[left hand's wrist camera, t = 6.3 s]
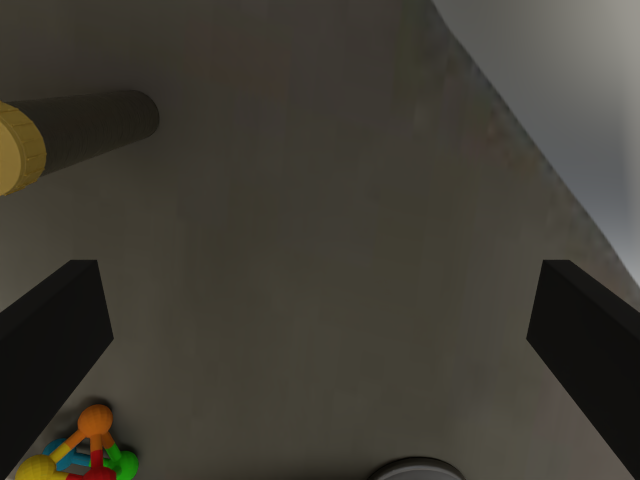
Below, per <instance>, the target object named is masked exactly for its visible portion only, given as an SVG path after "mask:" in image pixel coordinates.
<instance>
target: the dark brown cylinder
mask: <svg viewBox="0 0 640 480" xmlns="http://www.w3.org/2000/svg"><path fill="white" fill-rule="evenodd" d="M4 103H6V104H8V105H11V106H13V107H14V108H18V109H19V111H21V112H22V113H24V114H25V115H26V116H27V117H28V118H29V119H30V120H31V121H33V123H34V125H35V126H36V127H37V129H38V130H39V132H40V134H41V136H42V137H43V141H44V144H45V148H46V153H47V155H46V163H45V167H44V168H45V170H43V171H42V173H41V175H40V176H39V177H42V176H44V175H47V174H50V173H52V172H55V171H58V170H60V169H63V168H66V167H68V166H71V165H74V164H76V163H79V162H82V161H84V160H87V159H90V158H92V157H95V156H98V155H101V154H103V153H106V152H109V151H111V150H114V149H117V148H119V147H122V146H125V145H127V144H130V143H133V142H135V141H138V140H141V139H143V138H146V137H149V136H150V135H152V134H153V133H154V132H155V130H156V129H157V127H158V124H159V113H158V110H157V107H156V105H155V104H154V102H153V101H152V100H151V99H150V98H149V97H148V96H147V95H145V94H144V93H141V92H138V91H121V92H110V93H99V94H89V95H78V96H68V97H57V98H47V99H36V100H25V101H15V102H4ZM39 177H38V178H39Z"/></svg>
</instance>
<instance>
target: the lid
mask: <svg viewBox="0 0 640 480" xmlns="http://www.w3.org/2000/svg"><path fill="white" fill-rule="evenodd" d="M46 155H47V153H46V148H45V144H44V141H43V137H42V136H41V134H40V132H39V130H38V129H37V127H36V126H35V125H34V123H33V121H31V120H30V119H29V118H28V117H27V116H26V115H25V114H24V113H22V112H21V111H19V109H18V108H14V107H13V106H11V105H8V104H6V103H3V102H2V101H0V196H1V195H4V196H6V195H8V194H11V193H13V192H16V191H19V190H21V189H24V188H25V186H27V185H30V184H31V183H34V182H36V181H37V179H38V177H39V176H40V175H41V173H42V171H43V170H45V168H44V167H45V163H46Z"/></svg>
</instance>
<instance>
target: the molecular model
mask: <svg viewBox="0 0 640 480" xmlns="http://www.w3.org/2000/svg"><path fill="white" fill-rule="evenodd" d="M112 421H113V415H112V412H111V411H110V409H109V408H108V407H107V406H104V405H101V404H96V405H92V406H90V407H88V408H86V409H85V410H84V411H83V412H82V413H81V415H80V417H79V419H78V430H77V431H76V432H75V433H74V434H72V435H71V436H70V437H69V438H68V439H65V438H60V439H56V440H54V441H52V442H51V443H49V444H48V445H47V446H46V447H45V449H44V451H43V453H42V454H40V455H35V456H32V457H30V458H28V459H27V460H25V461H24V462H23V463H22V464H21V465H20V467H19V469H18V471H17V473H16V476H15V480H131V479H132V478H133V477H134V476H135V475H136V473H137V470H138V466H139V462H138V459H137V457H136V455H135V454H134V453H132V452H129V451H121V452H120V450H119V449H118V447H117V445H116V443H115V442H114V440H113V438H112V436H111V435H110V433H109V431H108V430H109V429H110V427H111V425H112ZM85 437H87V438H90V452H91V455H87V454H82V453H77V452H76V446H77V445H78V444H79V443H80V442H81V441H82V440H83V439H84V438H85ZM102 445H103V447H104V448H105V450H106V452H107V453H108V455H109V457H110V459H107V458H103V447H102ZM71 463H73V464H78V465H84V466H89V467H91V470H89V471H88V472H87V473H86V474H85V475H84V476H82V475H76V474H71V473H66V472H61V471H62V470H64V469H66V468H67V467H69V466H70V465H71Z"/></svg>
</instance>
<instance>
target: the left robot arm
mask: <svg viewBox="0 0 640 480" xmlns="http://www.w3.org/2000/svg"><path fill="white" fill-rule="evenodd" d="M113 339H114V337H113V333H112V328H111V323H110V319H109V314H108V309H107V305H106V300H105V295H104V291H103V286H102V281H101V277H100V272H99V268H98V263H97V260H70V261H69V262H67V263H66V264H65V265H63V266H62V267H61V268H59V269H58V270H57V271H55V272H54V273H53V274H51V275H50V276H49V277H47V278H46V279H45V280H43V281H42V282H41V283H39V284H38V285H37V286H35V287H34V288H33V289H31V290H30V291H29V292H27V293H26V294H25V295H23V296H22V297H21V298H19V299H18V300H17V301H15V302H14V303H13V304H11V305H10V306H9V307H7V308H6V309H5V310H3V311H2V312H1V313H0V480H5V479H6V477H7V476H8V475H9V474H10V472H11V471H12V470H13V468H14V467H15V466H16V465H17V463H18V462H19V461H20V459H21V458H22V457H23V455H24V454H25V453H26V452H27V450H28V449H29V448H30V446H31V445H32V444H33V443H34V441H35V440H36V439H37V437H38V436H39V435H40V434H41V432H42V431H43V430H44V428H45V427H46V426H47V425H48V423H49V422H50V421H51V419H52V418H53V417H54V415H55V414H56V413H57V412H58V410H59V409H60V408H61V406H62V405H63V404H64V403H65V401H66V400H67V399H68V397H69V396H70V395H71V394H72V392H73V391H74V390H75V388H76V387H77V386H78V384H79V383H80V382H81V381H82V379H83V378H84V377H85V375H86V374H87V373H88V372H89V370H90V369H91V368H92V366H93V365H94V364H95V363H96V361H97V360H98V359H99V357H100V356H101V355H102V353H103V352H104V351H105V350H106V348H107V347H108V346H109V344H110V343H111V342H112V341H113ZM526 339H527V341H528V342H529V343H530V344H531V346H532V347H533V348H534V350H535V351H536V352H537V353H538V355H539V356H540V357H541V359H542V360H543V361H544V363H545V364H546V365H547V366H548V368H549V369H550V370H551V372H552V373H553V374H554V375H555V377H556V378H557V379H558V381H559V382H560V383H561V384H562V386H563V387H564V388H565V390H566V391H567V392H568V394H569V395H570V396H571V397H572V399H573V400H574V401H575V403H576V404H577V405H578V406H579V408H580V409H581V410H582V412H583V413H584V414H585V415H586V417H587V418H588V419H589V421H590V422H591V423H592V425H593V426H594V427H595V428H596V430H597V431H598V432H599V434H600V435H601V436H602V437H603V439H604V440H605V441H606V443H607V444H608V445H609V446H610V448H611V449H612V450H613V452H614V453H615V454H616V455H617V457H618V458H619V459H620V461H621V462H622V463H623V465H624V466H625V467H626V468H627V470H628V471H629V472H630V474H631V475H632V476H633V477H634V479H635V480H640V313H639V312H638V311H637V310H635V309H634V308H633V307H631V306H630V305H629V304H627V303H626V302H625V301H623V300H622V299H621V298H619V297H618V296H617V295H615V294H614V293H613V292H611V291H610V290H609V289H607V288H606V287H605V286H603V285H602V284H601V283H599V282H598V281H597V280H595V279H594V278H593V277H591V276H590V275H589V274H587V273H586V272H585V271H583V270H582V269H581V268H579V267H578V266H577V265H575V264H574V263H573V262H571V261H570V260H543V263H542V268H541V272H540V277H539V281H538V286H537V291H536V295H535V300H534V305H533V309H532V314H531V319H530V323H529V328H528V333H527V337H526ZM368 480H466V479H465V478H464V476H463V475H462V474H461V473H460V472H459V471H458V470H457V469H455V468H454V467H452V466H451V465H449V464H447V463H444V462H442V461H438V460H434V459H428V458H411V459H404V460H400V461H396V462H393V463H391V464H388V465H386V466H384V467H382V468H381V469H379V470H378V471H376V472H375V473H374V474H373V475H372V476H371V477H370V478H369V479H368Z"/></svg>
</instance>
